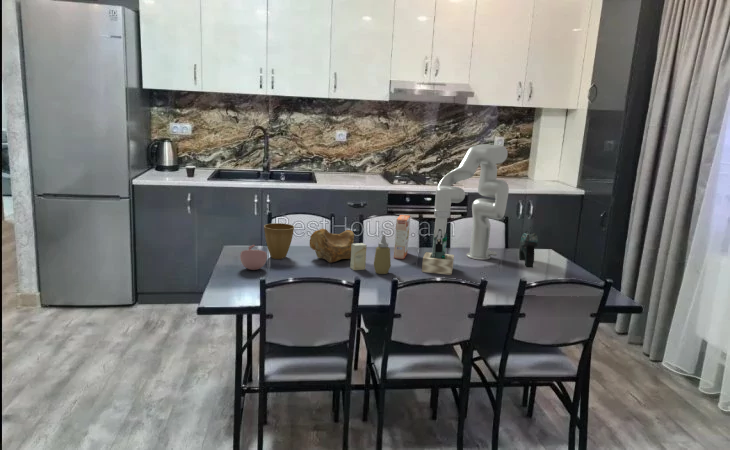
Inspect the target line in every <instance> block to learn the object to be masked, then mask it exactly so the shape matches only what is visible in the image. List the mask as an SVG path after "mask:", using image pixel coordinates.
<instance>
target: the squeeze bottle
mask: <svg viewBox="0 0 730 450" xmlns="http://www.w3.org/2000/svg"><path fill="white" fill-rule="evenodd" d="M386 240H387V239H386V235H384V234H382V235H381V238H380V241H379V242H378V246H376V248H375V252H374V253H375V254H374V259H373V268H374V272H375V273H376V274H379V275H386V274H389V271H390V268H391V267H392V266H391V265H392V264H391V248H390V247H389V242H387V241H386Z"/></svg>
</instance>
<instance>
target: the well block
mask: <svg viewBox="0 0 730 450" xmlns="http://www.w3.org/2000/svg"><path fill="white" fill-rule="evenodd" d="M454 257H455V254H448V253H446V254H445V259H438V258H432V252H427V251H425V253H424V254H423V257H422V264H421V272H422V273H429V274H430V273H431V274H439V275H440V274H441V275H447V276H452V273H453V269H454V259H455V258H454Z"/></svg>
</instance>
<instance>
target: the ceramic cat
mask: <svg viewBox="0 0 730 450" xmlns="http://www.w3.org/2000/svg"><path fill="white" fill-rule="evenodd" d="M529 229H530V231H532V230H533V227H532V226H530V227H529ZM530 231H529V230H526V231H525V233H522V235H521V237H520V241H519V246H518V247H519V249H518V259H519V260H520V261H524V266H525V267H526V268H534V263H535V248H537V247H538V246H539V244H538V242H539V238H538V235H537V233H536V232H533V233H532V232H530Z"/></svg>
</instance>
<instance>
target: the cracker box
mask: <svg viewBox="0 0 730 450" xmlns="http://www.w3.org/2000/svg"><path fill="white" fill-rule="evenodd" d="M395 223H396V225H395V237H394V248H393V249H394V252H393V258H394V259H397V260H398V259H400V260H404V259H405V258H406V256H407V254H408V250H409V249H408V248H409V238H410V237H409V236H410V225H411V215H410V214H409V215H408V214H399V216H398V217H397V218H396V222H395Z"/></svg>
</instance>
